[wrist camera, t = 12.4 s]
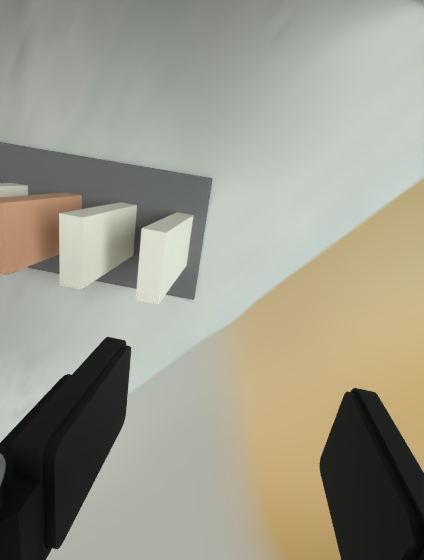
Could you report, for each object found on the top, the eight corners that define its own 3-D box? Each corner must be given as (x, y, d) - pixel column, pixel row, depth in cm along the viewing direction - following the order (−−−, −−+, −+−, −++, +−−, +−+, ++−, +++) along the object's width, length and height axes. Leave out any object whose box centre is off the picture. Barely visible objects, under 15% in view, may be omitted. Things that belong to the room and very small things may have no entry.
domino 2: (193, 215, 29) (166, 232, 19) (186, 265, 30) (158, 304, 21) (176, 212, 29) (141, 228, 19) (170, 262, 30) (135, 299, 21)
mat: (212, 178, 28) (211, 178, 27) (194, 298, 32) (193, 299, 31) (-91, 127, 30) (-96, 126, 29) (-73, 246, 33) (-76, 247, 33)
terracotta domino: (81, 195, 29) (2, 203, 20) (81, 245, 31) (7, 274, 21) (66, 192, 29) (-21, 198, 20) (66, 242, 31) (-14, 270, 22)
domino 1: (136, 205, 29) (82, 217, 20) (133, 255, 31) (81, 289, 21) (120, 202, 29) (59, 213, 20) (117, 252, 31) (59, 285, 21)
